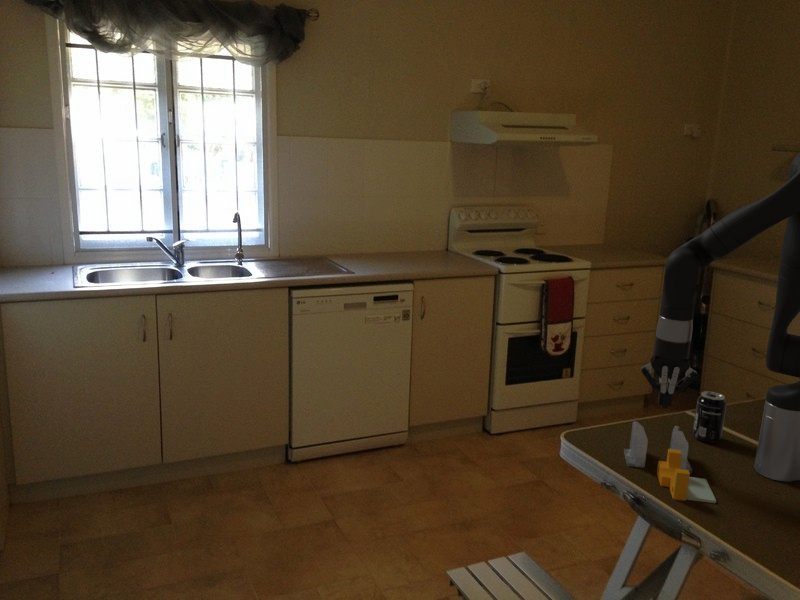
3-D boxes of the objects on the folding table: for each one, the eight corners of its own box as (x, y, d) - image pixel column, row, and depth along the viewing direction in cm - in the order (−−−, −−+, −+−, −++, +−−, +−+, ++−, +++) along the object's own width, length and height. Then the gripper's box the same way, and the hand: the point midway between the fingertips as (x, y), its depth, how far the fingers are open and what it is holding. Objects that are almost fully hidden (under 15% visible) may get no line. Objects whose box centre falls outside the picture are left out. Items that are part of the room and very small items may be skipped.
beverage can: (701, 431, 190) (707, 388, 187) (725, 440, 185) (732, 396, 182) (686, 437, 186) (693, 393, 183) (711, 446, 181) (718, 402, 178)
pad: (705, 481, 162) (705, 478, 162) (715, 503, 153) (716, 500, 153) (677, 477, 163) (677, 475, 163) (686, 499, 154) (686, 496, 154)
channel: (682, 453, 176) (686, 426, 175) (691, 473, 166) (696, 445, 164) (622, 446, 179) (625, 420, 177) (627, 466, 168) (630, 438, 166)
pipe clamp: (656, 473, 166) (660, 447, 164) (676, 475, 165) (680, 449, 163) (664, 498, 154) (668, 471, 153) (685, 501, 153) (689, 474, 152)
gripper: (645, 338, 160) (636, 410, 165) (707, 343, 158) (697, 416, 162) (641, 328, 167) (632, 397, 172) (701, 333, 165) (691, 404, 169)
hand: (664, 406), depth 167 cm, fingers closed
